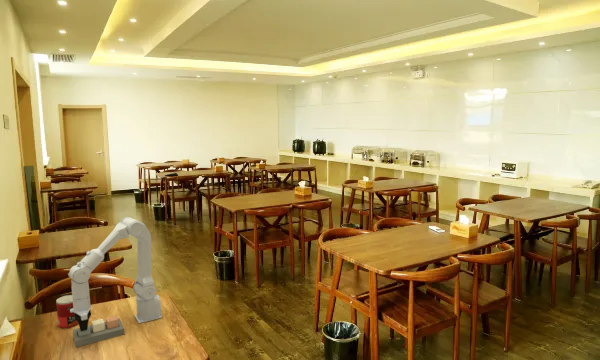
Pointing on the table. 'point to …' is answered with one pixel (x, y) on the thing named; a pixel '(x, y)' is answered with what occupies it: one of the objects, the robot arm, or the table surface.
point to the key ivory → (98, 325)
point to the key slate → (84, 332)
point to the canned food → (65, 312)
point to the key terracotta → (112, 322)
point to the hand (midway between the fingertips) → (83, 330)
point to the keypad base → (98, 334)
